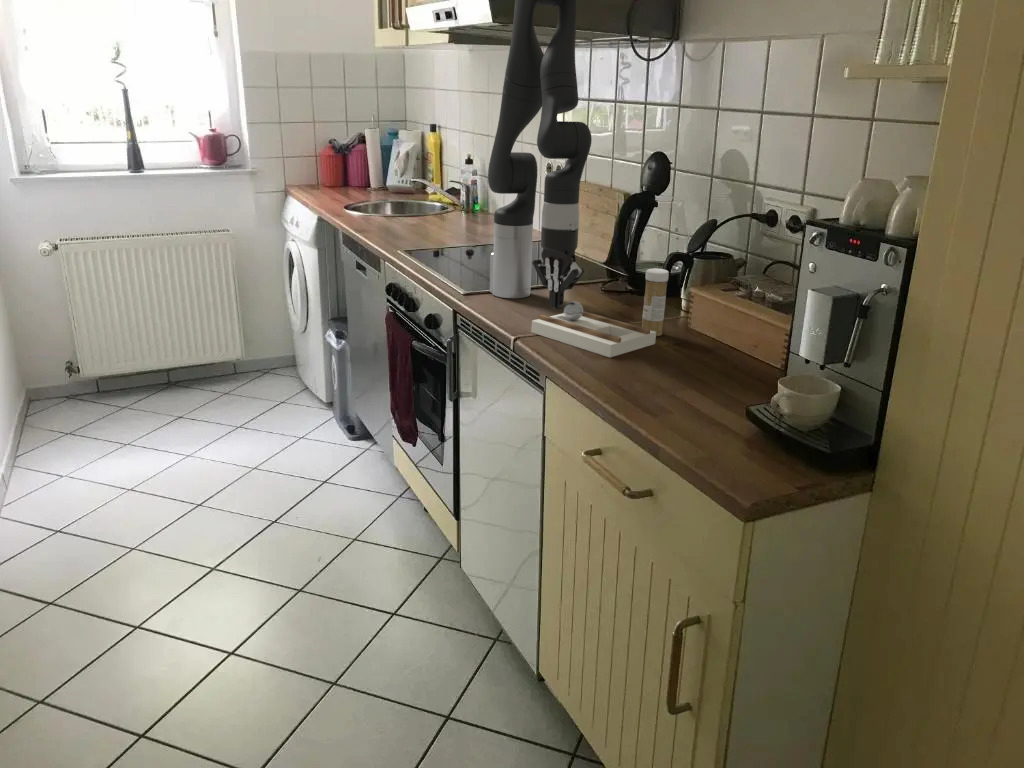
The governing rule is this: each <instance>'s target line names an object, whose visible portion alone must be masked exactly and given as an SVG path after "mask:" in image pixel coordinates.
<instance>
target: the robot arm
mask: <svg viewBox="0 0 1024 768" xmlns="http://www.w3.org/2000/svg"><path fill="white" fill-rule="evenodd" d="M536 6H538V7H539V6H540V7H554V8H557V15H558V17H557V24H556V28H555V31H554V33H553V35H552V38H551V39H550V41H549V44H548V45H547V48H546V49H545V52H543V50H542V47H541V45H540V43H539V39H538V38H537V33H536V31H535V24H534V20H535V19H534V16H535V8H536ZM513 9H514V11H513V23H512V30H511V39H510V47H509V50H508V51H509V52H508V57H507V63H506V68H505V73H504V79H503V80H504V81H503V86H502V94H501V103H500V109H499V110H500V111H499V117H498V122H497V128H496V133H495V138H494V141H493V145H492V149H491V154H490V159H489V163H488V171H487V182H488V187H489V189H490V190H491V192H492V193H494V194H506V195H507V194H509V195H510V194H511V195H513V194H517V195H516V197H515V199H514V200H512V201H511V202H510V203H509V204H506V205H505V206H501V207H499V208H497V209H496V210H495V211H494V213H493V252H491V253H490V256H489V259H490V260H489V261H490V263H489V293H491V294H492V295H493V296H496V297H498V298H502V299H503V298H504V299H523V298H528V297H529V296H531V287H532V286H531V284H532V283H531V282H532V266H533V267H534V270H535V271H536V273H537V276H538V278H539V279H540V283H541V285H542V286H543V287H547V289H548V291H549V292H548V293H549V295H548V297H549V298H548V304H549V308H551V309H553V310H560V309H562V307H563V306H564V298H565V297H564V296H565V291H567V290H572V289H573V288H574V286H575V285H576V284H577V282H578V281H579V280H580V279H581V277H582V275H584V273H585V269H584V267H580V266H578V263H577V258H576V250H577V248H578V246H579V245H578V244H579V229H580V228H579V226H580V225H579V224H580V206H579V205H580V204H579V202H580V189H581V188H580V187H581V180H582V176H583V172H584V169H585V165H586V162H587V160H588V157H589V154H590V150H591V147H592V139H593V138H592V132H591V130H590V128H589V126H588V125H587V124H586V123H585V122H582V121H565V120H564V121H560V120H559V121H558V115H560V114H564V113H567V112H571V111H573V110H574V109H576V108H577V107H578V104H579V93H578V92H579V90H578V80H577V79H578V77H577V69H576V67H577V66H576V38H577V36H576V35H577V19H578V17H577V16H578V14H577V13H578V0H514V8H513ZM540 111H541V115H540V121H539V127H538V132H537V138H536V144H537V149H538V151H539V153H540V154H541V156H542V157H544V158H545V159H549V160H550V159H552V160H567V162H566V164H565V165H564V167H562V168H561V169H557V170H554V171H549V172H548V173H546V175H545V177H544V184H543V185H544V187H543V188H544V189H543V191H544V192H543V205H542V210H541V229H540V232H541V233H540V247H541V248H542V251H541V252H540V253H541V254H540V255H541V256H540V257H539V258H537V259H534V260H532V258H533V231H534V230H533V229H534V215H535V209H536V208H535V207H536V195H537V186H538V185H537V184H538V161H537V159H536V156H535V154H533V153H531V152H518V151H517V152H515V151H513V148H514V145H515V143H516V141H517V139H518V138H519V136H520V135H521V133H522V132H523V131H524V130H525V129H526V127H527V126H528V125H529V124H530V123H531V122H532V121H533V119H534V118H535V117H536V116H537V115H538V114H539V112H540Z"/></svg>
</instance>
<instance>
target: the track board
mask: <svg viewBox="0 0 1024 768" xmlns="http://www.w3.org/2000/svg"><path fill="white" fill-rule="evenodd" d="M530 328H531V329H530V331H531V333H532V334H535V335H539V336H542V337H545V338H548V339H551V340H554V341H557V342H561V343H563V344H566V345H569V346H572V347H576V348H579V349H582V350H584V351H588V352H591V353H594V354H598V355H600V356H604V357H607V358H613V357H616V356H620V355H623V354H626V353H630V352H633V351H636V350H639V349H643V348H645V347H649V346H653V345H656V337H657V336H656V332H655V331H651V330H649V329H646V328H642V326H639V325H634V324H632V323H627V322H625V321H624V322H623V321H620V320H616V319H613V318H609V317H606V316H603V315H599V314H596V313H591V312H588V311H585V310H583V314H582V316H581V318H579V319H578V320H575V321H572V320H569V319H567V318H566V317H565V315H564V312H562V313H559V314H555V315H551V316H548V315H545V314H539V315H538V319H533V320H532V319H531V327H530Z"/></svg>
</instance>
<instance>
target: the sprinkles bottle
mask: <svg viewBox="0 0 1024 768" xmlns="http://www.w3.org/2000/svg"><path fill="white" fill-rule="evenodd" d="M669 273H670V272H669V271H668V270H667V269H664V268H655V267H654V268H649V269H647V270H645V277H644V278H645V288H644V289H645V291H644V296H643V297H644V298H643V309H642V319H641V327H642V328H646V329H649V330H651V331H655V332H656V337H659V336H662V335H663V325H664V317H665V309H666V299H667V286H668V281H669Z"/></svg>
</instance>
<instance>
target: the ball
mask: <svg viewBox="0 0 1024 768" xmlns="http://www.w3.org/2000/svg"><path fill="white" fill-rule="evenodd" d="M583 311H584V308H583V305H582V303H580V302H579V301H575V300H572V301H569V302H567V303H566V304H565V306H564V307H563V313H564V315H565V317H566V318H567V319H569V320H572V321H575V320H578V319H579V318H581V316H582V314H583Z"/></svg>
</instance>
